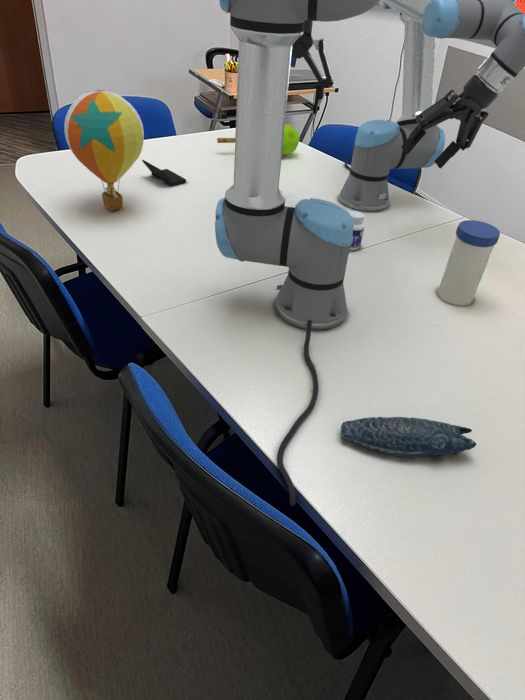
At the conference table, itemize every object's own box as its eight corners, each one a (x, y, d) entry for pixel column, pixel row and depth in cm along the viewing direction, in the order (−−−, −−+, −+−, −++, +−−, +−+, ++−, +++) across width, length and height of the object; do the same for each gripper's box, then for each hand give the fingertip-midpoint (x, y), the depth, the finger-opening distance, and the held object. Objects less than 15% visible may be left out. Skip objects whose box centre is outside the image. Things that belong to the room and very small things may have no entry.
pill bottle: (338, 247, 137) (344, 215, 131) (342, 239, 140) (348, 208, 135) (357, 252, 135) (364, 220, 130) (361, 243, 139) (368, 212, 134)
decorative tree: (214, 118, 187) (294, 118, 193) (214, 147, 194) (292, 146, 199) (220, 132, 174) (307, 132, 179) (220, 164, 180) (304, 162, 185)
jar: (467, 288, 125) (491, 224, 115) (476, 307, 119) (503, 241, 109) (434, 285, 125) (455, 221, 115) (441, 304, 119) (464, 237, 108)
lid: (489, 230, 116) (493, 221, 115) (502, 248, 109) (505, 240, 108) (451, 227, 116) (454, 218, 115) (461, 245, 109) (464, 236, 108)
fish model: (474, 470, 81) (484, 449, 78) (339, 453, 82) (344, 431, 79) (465, 439, 86) (475, 417, 83) (339, 423, 87) (344, 401, 84)
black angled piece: (190, 175, 164) (173, 153, 156) (179, 193, 163) (161, 172, 155) (166, 170, 170) (147, 148, 162) (155, 188, 169) (136, 167, 161)
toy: (64, 203, 145) (44, 85, 127) (127, 189, 156) (117, 79, 137) (97, 229, 134) (80, 105, 116) (162, 213, 145) (156, 96, 126)
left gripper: (351, 16, 123) (337, 111, 137) (248, 5, 125) (244, 100, 139) (351, 20, 118) (336, 118, 131) (243, 8, 119) (238, 107, 133)
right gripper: (464, 72, 109) (395, 154, 123) (523, 110, 124) (456, 179, 138) (447, 53, 113) (382, 134, 127) (507, 92, 128) (443, 161, 141)
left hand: (288, 109), depth 135 cm, fingers open, 13 cm apart
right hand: (421, 158), depth 132 cm, fingers open, 13 cm apart
